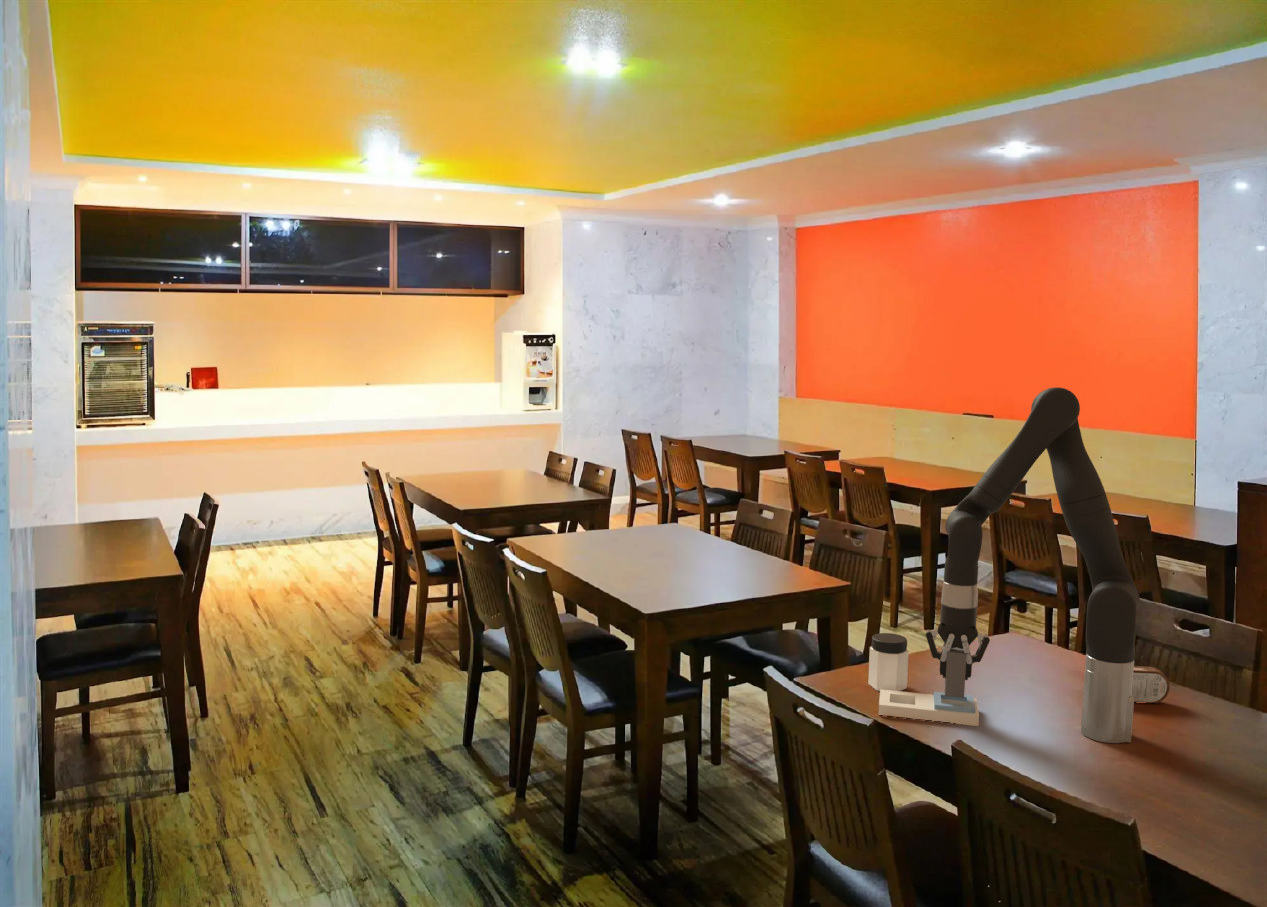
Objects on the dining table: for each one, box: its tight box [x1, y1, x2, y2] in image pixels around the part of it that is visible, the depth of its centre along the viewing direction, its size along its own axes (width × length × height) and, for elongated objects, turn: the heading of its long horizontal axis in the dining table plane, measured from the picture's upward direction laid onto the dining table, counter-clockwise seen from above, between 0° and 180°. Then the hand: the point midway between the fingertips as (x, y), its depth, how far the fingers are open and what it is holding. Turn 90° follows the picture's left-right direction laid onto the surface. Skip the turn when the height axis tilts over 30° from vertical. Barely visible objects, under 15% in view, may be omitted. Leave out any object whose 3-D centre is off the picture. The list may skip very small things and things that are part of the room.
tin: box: [1132, 665, 1171, 704], centre depth 235 cm, size 15×3×8 cm, turn 84°
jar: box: [868, 632, 909, 692], centre depth 244 cm, size 9×8×12 cm
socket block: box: [878, 689, 980, 727], centre depth 228 cm, size 21×10×4 cm, turn 75°
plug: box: [943, 647, 967, 698], centre depth 226 cm, size 4×4×10 cm
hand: (954, 677), depth 226 cm, fingers closed on plug, 4 cm apart
